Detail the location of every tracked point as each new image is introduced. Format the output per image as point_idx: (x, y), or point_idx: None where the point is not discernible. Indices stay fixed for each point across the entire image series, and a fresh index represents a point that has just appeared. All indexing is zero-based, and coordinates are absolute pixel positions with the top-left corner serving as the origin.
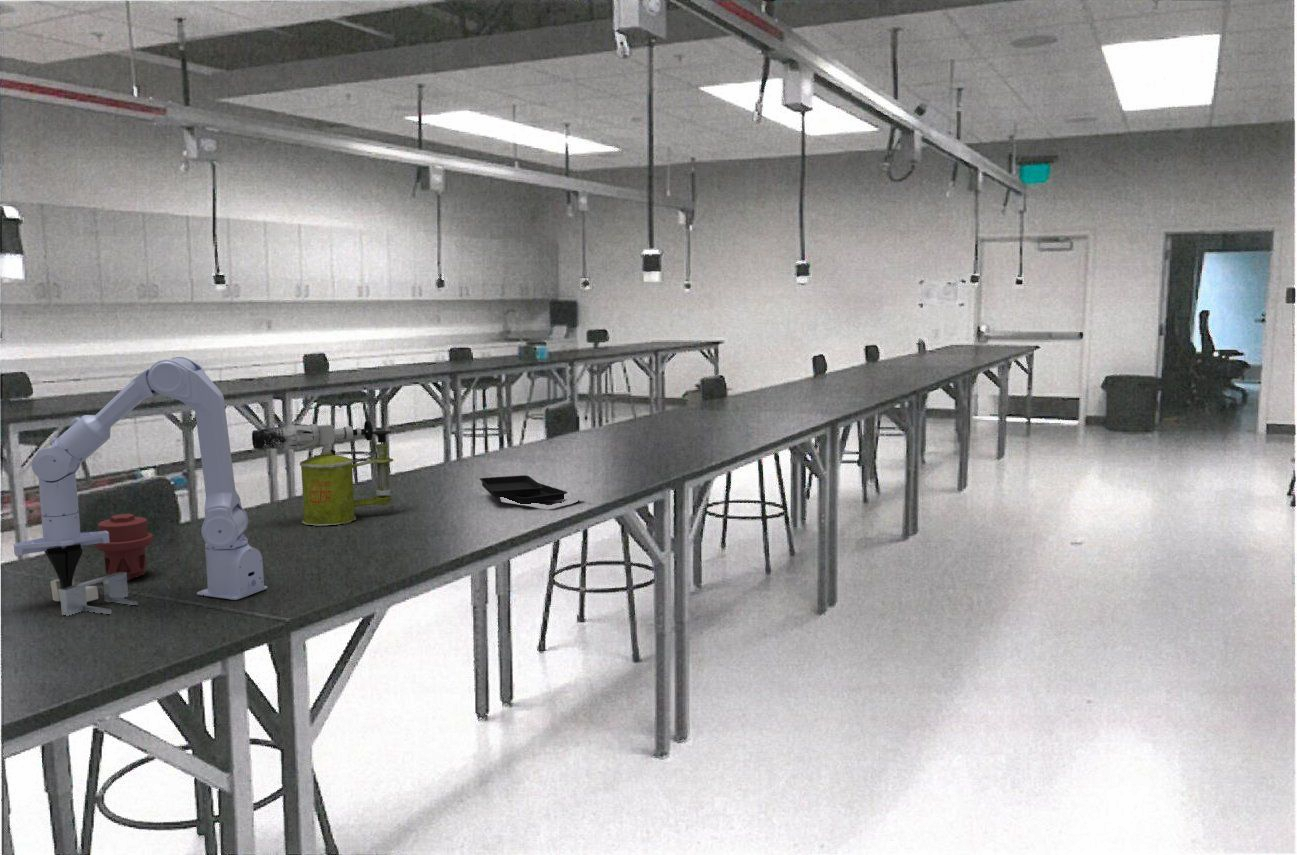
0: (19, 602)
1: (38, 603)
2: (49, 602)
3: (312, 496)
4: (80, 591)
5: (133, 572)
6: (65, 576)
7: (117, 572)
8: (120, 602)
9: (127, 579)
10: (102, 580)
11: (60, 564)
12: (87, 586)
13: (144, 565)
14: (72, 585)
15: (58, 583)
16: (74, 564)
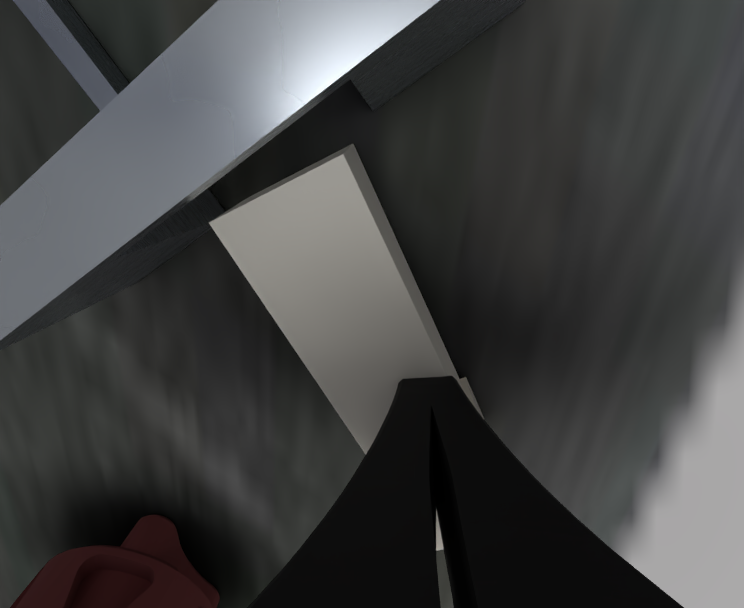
0: (624, 486)
1: (557, 416)
2: (506, 401)
3: None
4: None
5: (82, 550)
6: (451, 435)
7: None
8: (113, 70)
9: (137, 524)
10: (90, 131)
11: (559, 579)
12: (289, 317)
13: (23, 593)
14: None
15: None
16: (338, 539)
